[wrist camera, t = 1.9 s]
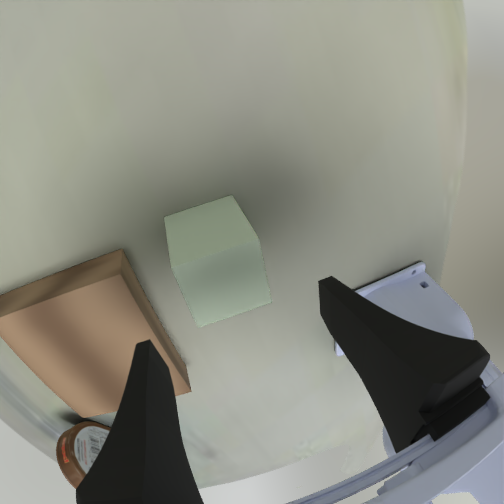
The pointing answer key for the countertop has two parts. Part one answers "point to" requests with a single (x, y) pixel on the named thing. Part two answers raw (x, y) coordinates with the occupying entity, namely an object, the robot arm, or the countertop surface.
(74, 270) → the walnut block
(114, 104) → the countertop surface
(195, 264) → the sage cube
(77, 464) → the tin
